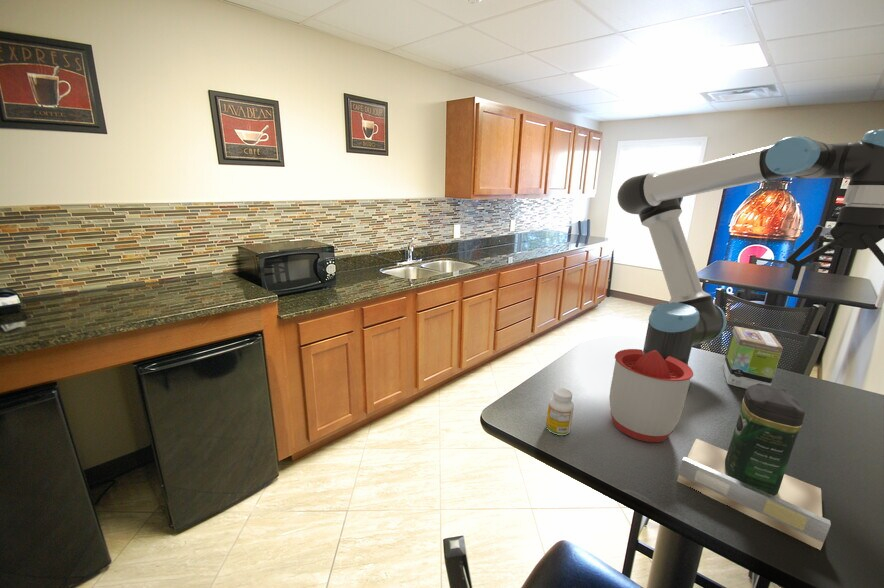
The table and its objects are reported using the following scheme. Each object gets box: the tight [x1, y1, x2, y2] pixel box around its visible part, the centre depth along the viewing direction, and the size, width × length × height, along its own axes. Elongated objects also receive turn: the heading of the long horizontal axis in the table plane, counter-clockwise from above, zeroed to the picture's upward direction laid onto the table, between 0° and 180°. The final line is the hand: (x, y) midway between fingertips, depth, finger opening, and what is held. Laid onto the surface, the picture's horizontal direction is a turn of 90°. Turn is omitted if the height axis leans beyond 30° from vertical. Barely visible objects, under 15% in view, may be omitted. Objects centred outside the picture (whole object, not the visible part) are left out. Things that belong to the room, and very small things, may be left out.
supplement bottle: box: [545, 387, 575, 436], centre depth 85 cm, size 5×5×10 cm
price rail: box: [678, 456, 832, 544], centre depth 65 cm, size 20×2×4 cm, turn 46°
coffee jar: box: [725, 383, 806, 496], centre depth 69 cm, size 10×8×19 cm
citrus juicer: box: [609, 348, 694, 443], centre depth 87 cm, size 16×17×20 cm
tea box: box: [722, 326, 784, 390], centre depth 113 cm, size 15×10×15 cm, turn 148°
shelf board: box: [676, 438, 824, 551], centre depth 71 cm, size 20×16×2 cm
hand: (834, 299), depth 87 cm, fingers open, 13 cm apart
